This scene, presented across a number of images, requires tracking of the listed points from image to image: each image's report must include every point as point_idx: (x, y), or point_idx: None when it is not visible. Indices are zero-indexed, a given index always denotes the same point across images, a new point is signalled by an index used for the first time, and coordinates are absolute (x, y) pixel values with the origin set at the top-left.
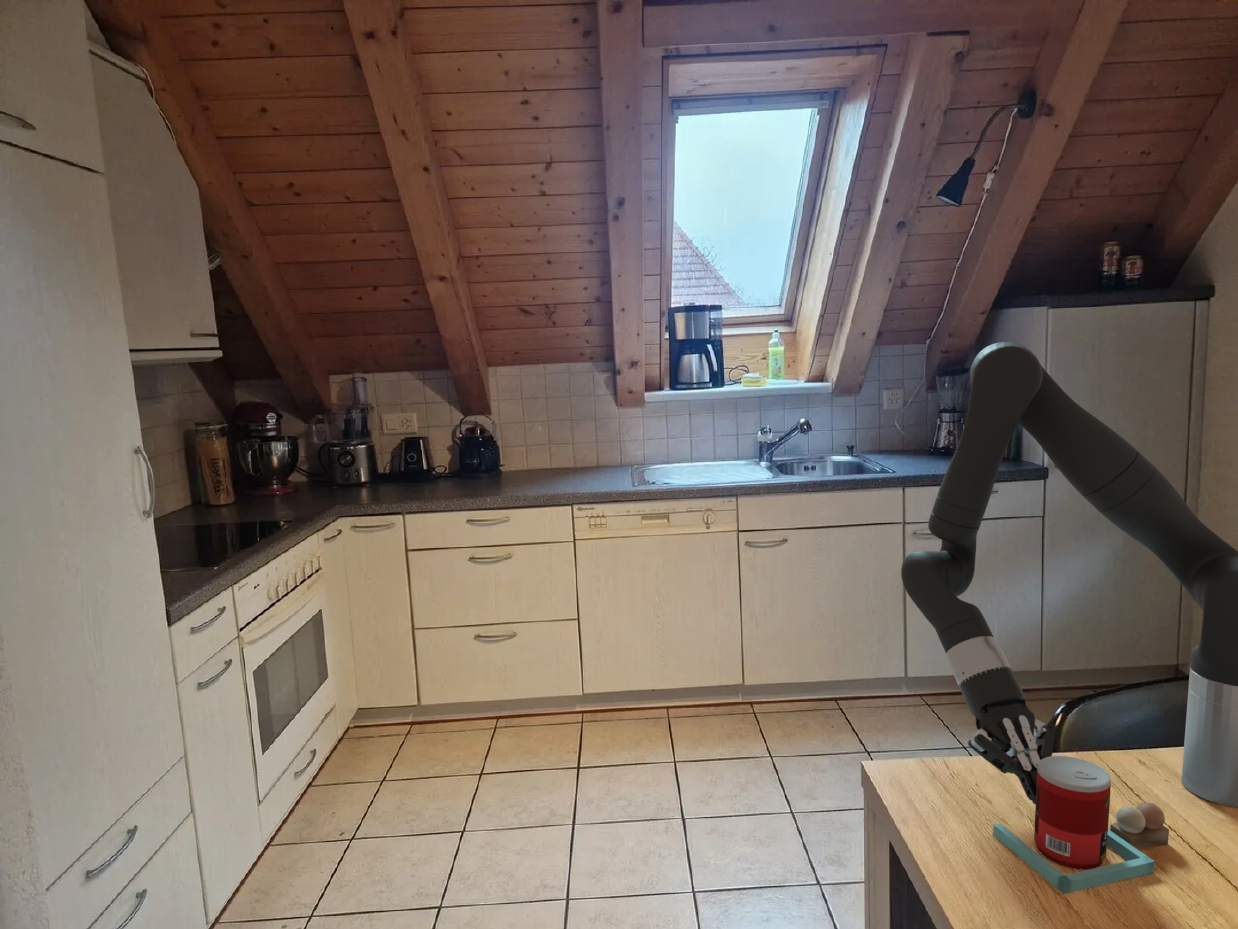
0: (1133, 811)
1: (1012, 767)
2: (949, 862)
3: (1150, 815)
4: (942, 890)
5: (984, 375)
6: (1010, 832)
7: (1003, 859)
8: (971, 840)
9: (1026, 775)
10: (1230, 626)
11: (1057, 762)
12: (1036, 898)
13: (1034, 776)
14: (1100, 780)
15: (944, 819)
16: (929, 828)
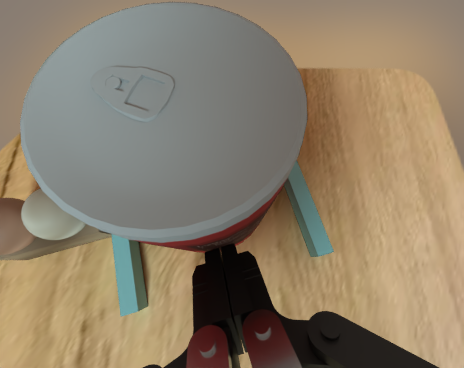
0: (40, 195)
1: (332, 312)
2: (419, 177)
3: (9, 202)
4: (437, 116)
5: None
6: (307, 222)
7: (326, 182)
8: (369, 238)
9: (264, 306)
10: None
11: (183, 188)
12: (307, 101)
13: (239, 295)
14: (99, 50)
15: (412, 316)
16: (447, 282)
